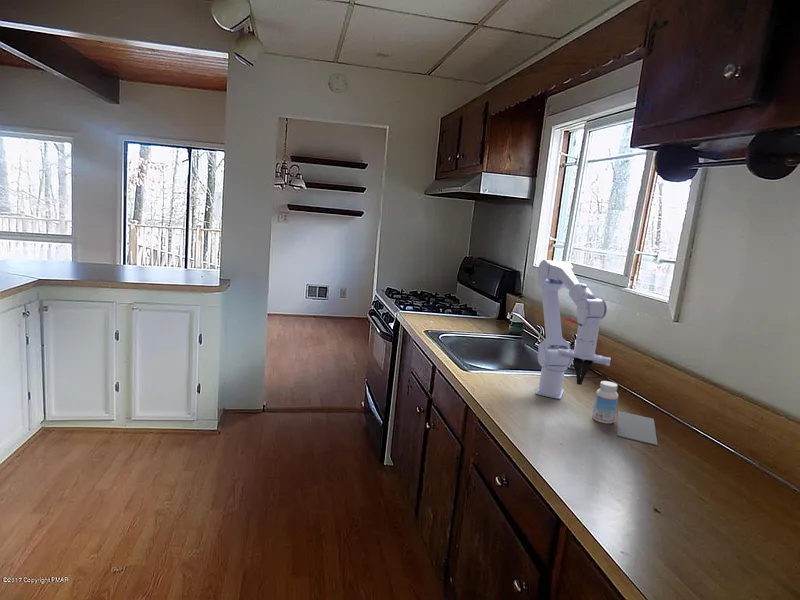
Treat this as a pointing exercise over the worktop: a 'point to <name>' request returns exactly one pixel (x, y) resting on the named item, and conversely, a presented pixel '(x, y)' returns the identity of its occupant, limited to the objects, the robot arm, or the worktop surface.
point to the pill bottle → (605, 402)
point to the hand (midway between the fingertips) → (579, 383)
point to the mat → (636, 428)
